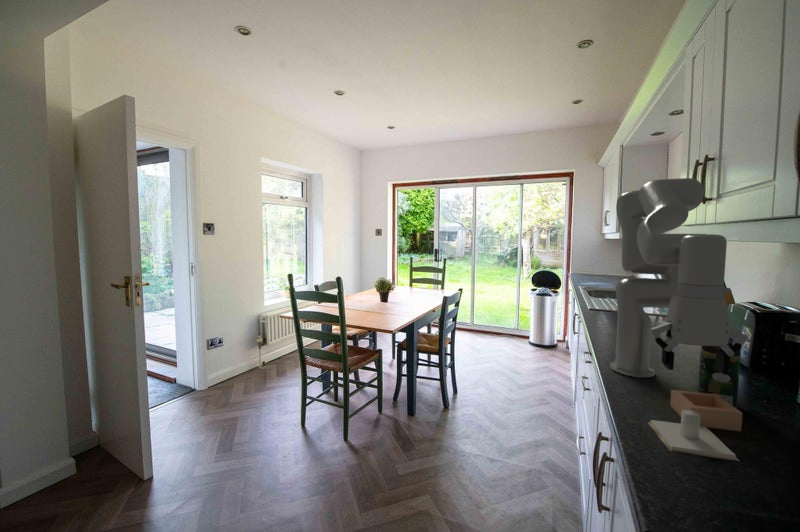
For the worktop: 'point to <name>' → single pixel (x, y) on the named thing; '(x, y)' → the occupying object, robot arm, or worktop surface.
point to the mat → (687, 452)
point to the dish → (708, 409)
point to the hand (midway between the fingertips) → (694, 369)
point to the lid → (691, 436)
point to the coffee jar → (719, 375)
